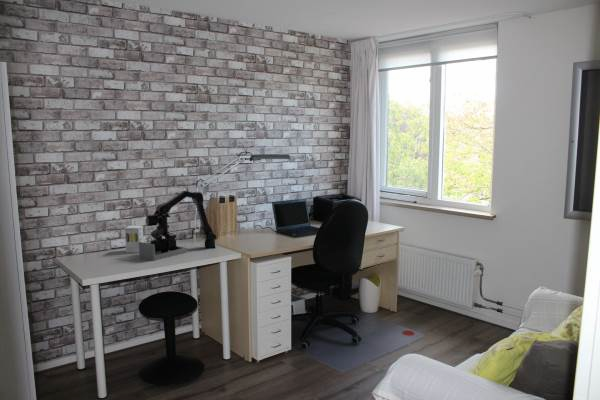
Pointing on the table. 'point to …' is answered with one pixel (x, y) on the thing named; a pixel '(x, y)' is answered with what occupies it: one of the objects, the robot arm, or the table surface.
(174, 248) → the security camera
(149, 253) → the case
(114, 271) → the table surface
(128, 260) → the table surface
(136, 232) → the supplement box
